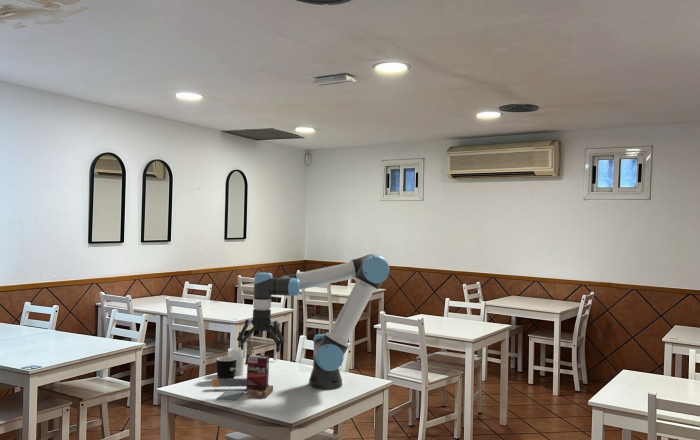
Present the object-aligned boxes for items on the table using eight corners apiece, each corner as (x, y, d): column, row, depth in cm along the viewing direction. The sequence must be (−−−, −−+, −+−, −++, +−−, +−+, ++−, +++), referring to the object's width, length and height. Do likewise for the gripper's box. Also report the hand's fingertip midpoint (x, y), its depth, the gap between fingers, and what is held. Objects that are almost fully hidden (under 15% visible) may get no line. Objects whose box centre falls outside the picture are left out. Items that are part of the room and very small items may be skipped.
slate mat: (244, 392, 243) (244, 391, 243) (235, 400, 231) (235, 399, 231) (226, 391, 244) (226, 390, 244) (216, 399, 232) (216, 398, 233)
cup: (243, 376, 270) (244, 351, 270) (225, 376, 270) (225, 350, 270) (247, 372, 279) (248, 347, 279) (229, 371, 279) (230, 347, 279)
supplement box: (245, 394, 240) (246, 357, 240) (248, 391, 244) (249, 354, 245) (265, 395, 239) (266, 358, 239) (268, 392, 244) (269, 355, 244)
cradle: (274, 389, 250) (275, 383, 250) (265, 398, 235) (265, 392, 235) (248, 387, 251) (248, 382, 251) (237, 396, 236) (237, 391, 236)
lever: (255, 389, 247) (255, 378, 247) (211, 389, 245) (212, 378, 245) (255, 387, 250) (256, 376, 251) (212, 387, 248) (213, 376, 248)
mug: (229, 384, 256) (230, 361, 256) (212, 382, 258) (212, 360, 259) (242, 378, 267) (242, 356, 268) (225, 376, 270) (225, 354, 270)
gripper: (292, 309, 245) (290, 358, 244) (236, 306, 248) (234, 355, 247) (288, 311, 237) (286, 362, 237) (231, 308, 240) (228, 358, 240)
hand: (259, 358), depth 242 cm, fingers open, 13 cm apart
